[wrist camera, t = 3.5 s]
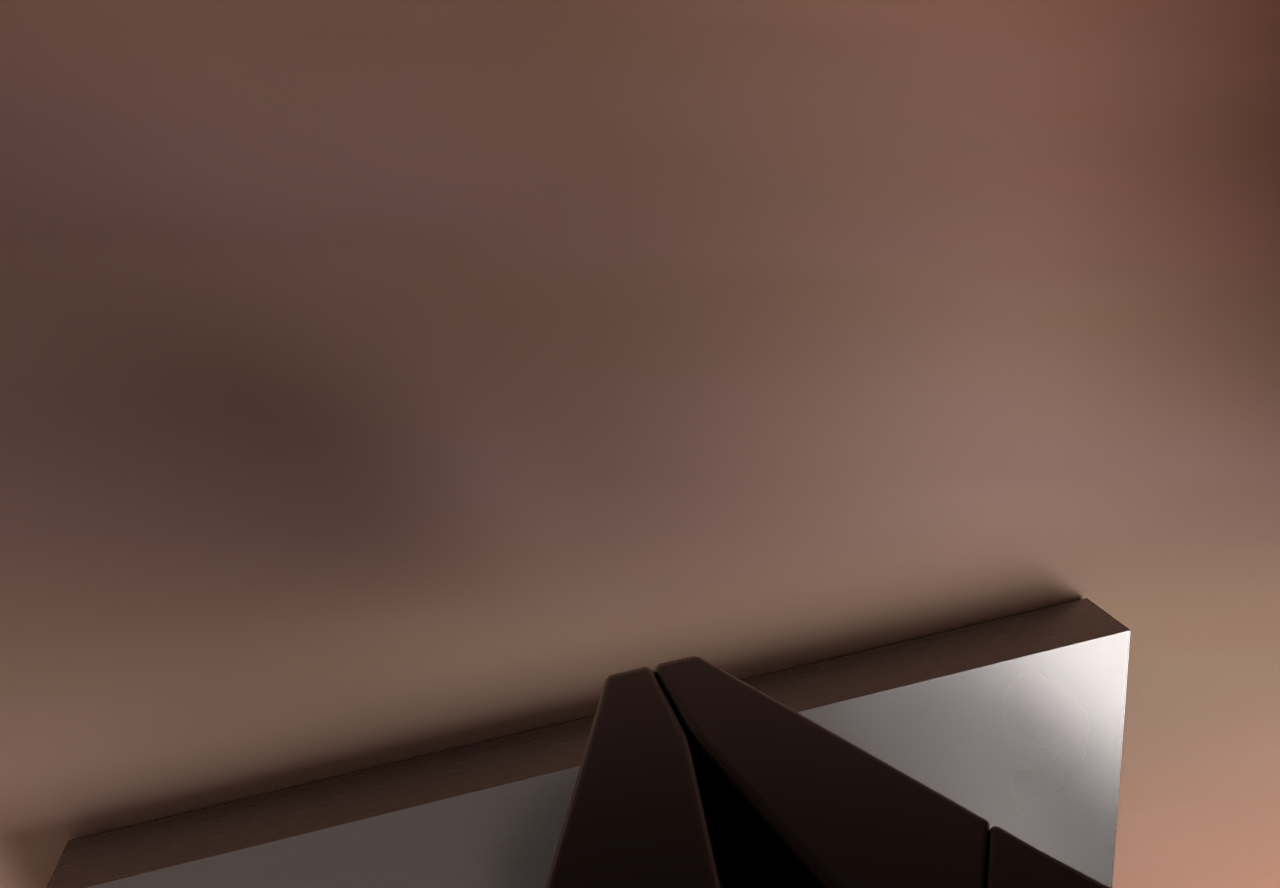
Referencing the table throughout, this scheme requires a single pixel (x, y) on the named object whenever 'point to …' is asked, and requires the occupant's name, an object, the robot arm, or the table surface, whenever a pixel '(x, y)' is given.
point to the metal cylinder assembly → (551, 756)
